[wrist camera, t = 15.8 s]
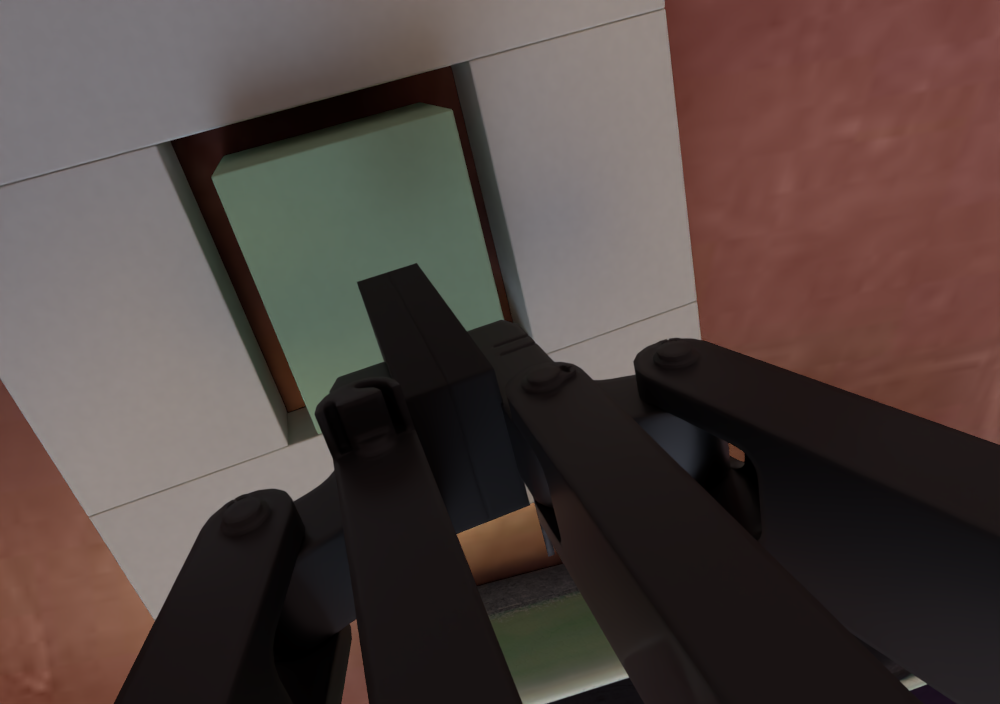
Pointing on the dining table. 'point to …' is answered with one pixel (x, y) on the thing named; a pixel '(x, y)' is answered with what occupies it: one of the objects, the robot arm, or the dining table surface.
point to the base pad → (198, 266)
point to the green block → (355, 232)
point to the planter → (571, 642)
